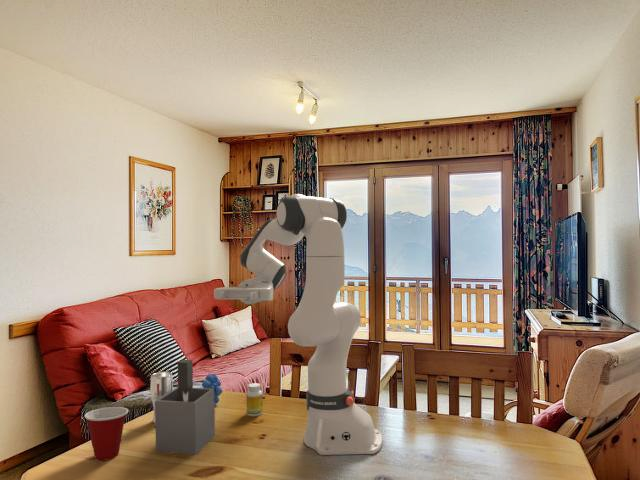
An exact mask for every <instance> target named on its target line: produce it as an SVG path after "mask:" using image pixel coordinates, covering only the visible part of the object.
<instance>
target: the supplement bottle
mask: <svg viewBox="0 0 640 480" xmlns="http://www.w3.org/2000/svg"><path fill="white" fill-rule="evenodd" d="M247 385H248V386H247V389H248V390H247V391H246V394H245V395H246V398H245V399H246V415H247V416H250V417H258V416H261V415H262V414H263V407H264V406H263V400H264V399H263V391H262V390H261V384H260V383H258V382H253V383H249V384H247Z"/></svg>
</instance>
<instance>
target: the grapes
mask: <svg viewBox="0 0 640 480" xmlns="http://www.w3.org/2000/svg"><path fill="white" fill-rule="evenodd" d="M204 379H205V380H204V381H202V383H201V386H202V387H201V388H209V389H214V407H215V405H216V404H218V403H219V402H220V398H219V397H220V395H221V394H222V393H223V388H222V387H220V386H221V384H222V383H221V381H220V380H219V377H218V376H217V374H216V373H212V374H211V373H210V374H209V373H208V374H207V375H206V376H205V378H204Z"/></svg>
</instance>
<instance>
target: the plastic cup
mask: <svg viewBox="0 0 640 480" xmlns="http://www.w3.org/2000/svg"><path fill="white" fill-rule="evenodd" d="M129 412H130V411H129V409H128V408H126V407H121V406H111V407H109V406H108V407H101V408H97V409H93V410H90V411H88V412H86V413H85V414H84V418H85V419H86V423H87V427H88V431H89V436H90V441H91V447H92V451H93V455H94V457H95V460H96V461H109V460H111V459H115V458H116V457H117V456H119V452H120V447H121V442H122V437H123V432H124V425H125V420H126V418H127V414H128V413H129Z"/></svg>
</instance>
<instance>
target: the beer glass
mask: <svg viewBox="0 0 640 480" xmlns="http://www.w3.org/2000/svg"><path fill="white" fill-rule="evenodd" d="M173 389H174V380H173V373H172V372H171V371H159V372H155V373H152V374H151V375H150V398H151V403H152V407H153V415H152V423H153V425H154V424H155V401H156V400H157V399H159V398H161V397H162V396H164V395H165V394H167V393H169V392H170V391H172V390H173Z"/></svg>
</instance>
